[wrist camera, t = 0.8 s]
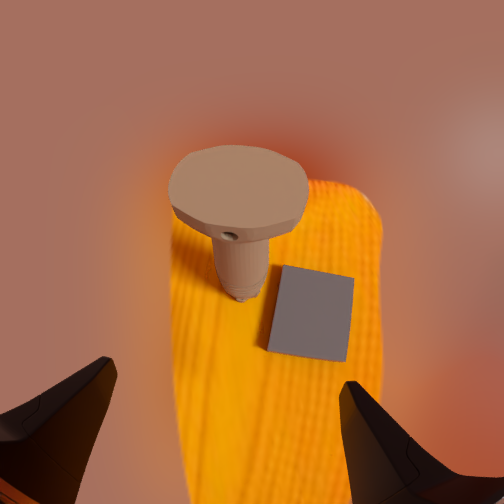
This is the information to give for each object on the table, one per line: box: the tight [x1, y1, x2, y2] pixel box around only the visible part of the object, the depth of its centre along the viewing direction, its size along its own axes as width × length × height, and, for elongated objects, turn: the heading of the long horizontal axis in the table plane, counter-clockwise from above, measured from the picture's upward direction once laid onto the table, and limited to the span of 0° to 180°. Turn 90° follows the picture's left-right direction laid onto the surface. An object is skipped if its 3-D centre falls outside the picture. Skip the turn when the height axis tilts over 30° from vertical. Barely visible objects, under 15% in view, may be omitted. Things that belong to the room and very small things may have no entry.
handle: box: [168, 145, 309, 302], centre depth 19 cm, size 5×6×15 cm
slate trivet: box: [267, 265, 354, 362], centre depth 24 cm, size 8×7×1 cm
